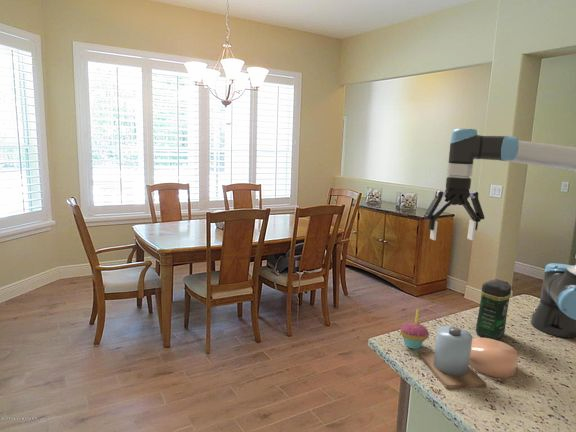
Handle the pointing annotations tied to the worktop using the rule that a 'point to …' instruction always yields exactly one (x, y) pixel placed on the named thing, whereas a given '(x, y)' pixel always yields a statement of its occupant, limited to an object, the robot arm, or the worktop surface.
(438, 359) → the blue-grey knobbed jar
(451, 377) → the mat
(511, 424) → the worktop surface
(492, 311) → the coffee jar
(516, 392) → the worktop surface
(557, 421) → the worktop surface
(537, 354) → the worktop surface
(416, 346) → the cupcake
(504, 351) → the peach round dome
